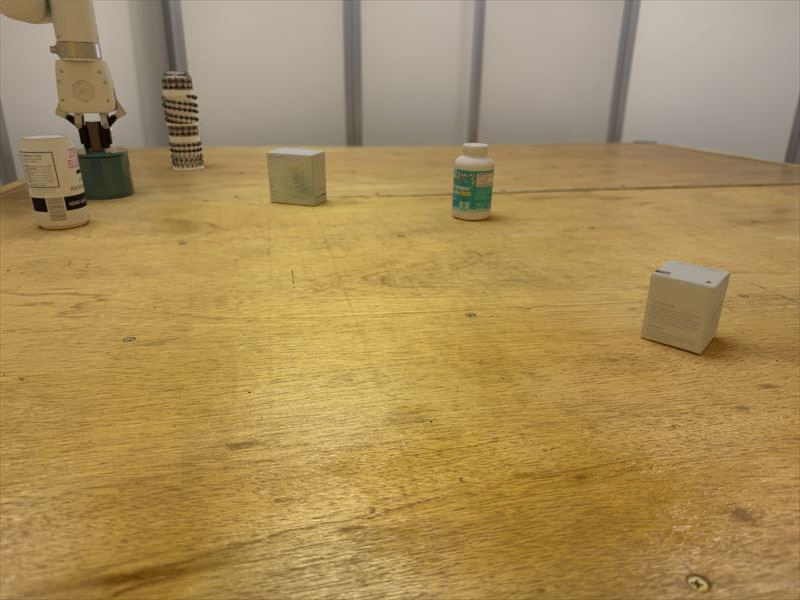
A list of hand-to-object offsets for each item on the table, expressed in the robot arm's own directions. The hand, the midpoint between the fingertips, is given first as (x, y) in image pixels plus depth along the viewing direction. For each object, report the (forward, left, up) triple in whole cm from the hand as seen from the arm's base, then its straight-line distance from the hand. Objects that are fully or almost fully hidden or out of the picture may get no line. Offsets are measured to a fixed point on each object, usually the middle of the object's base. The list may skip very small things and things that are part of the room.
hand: (97, 147), depth 117 cm
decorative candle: (+14, +33, -10) cm, 38 cm away
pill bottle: (+71, -36, -10) cm, 80 cm away
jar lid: (0, 0, -1) cm, 1 cm away
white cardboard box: (+73, -90, -10) cm, 116 cm away
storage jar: (0, 0, -10) cm, 10 cm away
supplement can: (-2, -26, -10) cm, 28 cm away
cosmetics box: (+40, -16, -10) cm, 44 cm away
